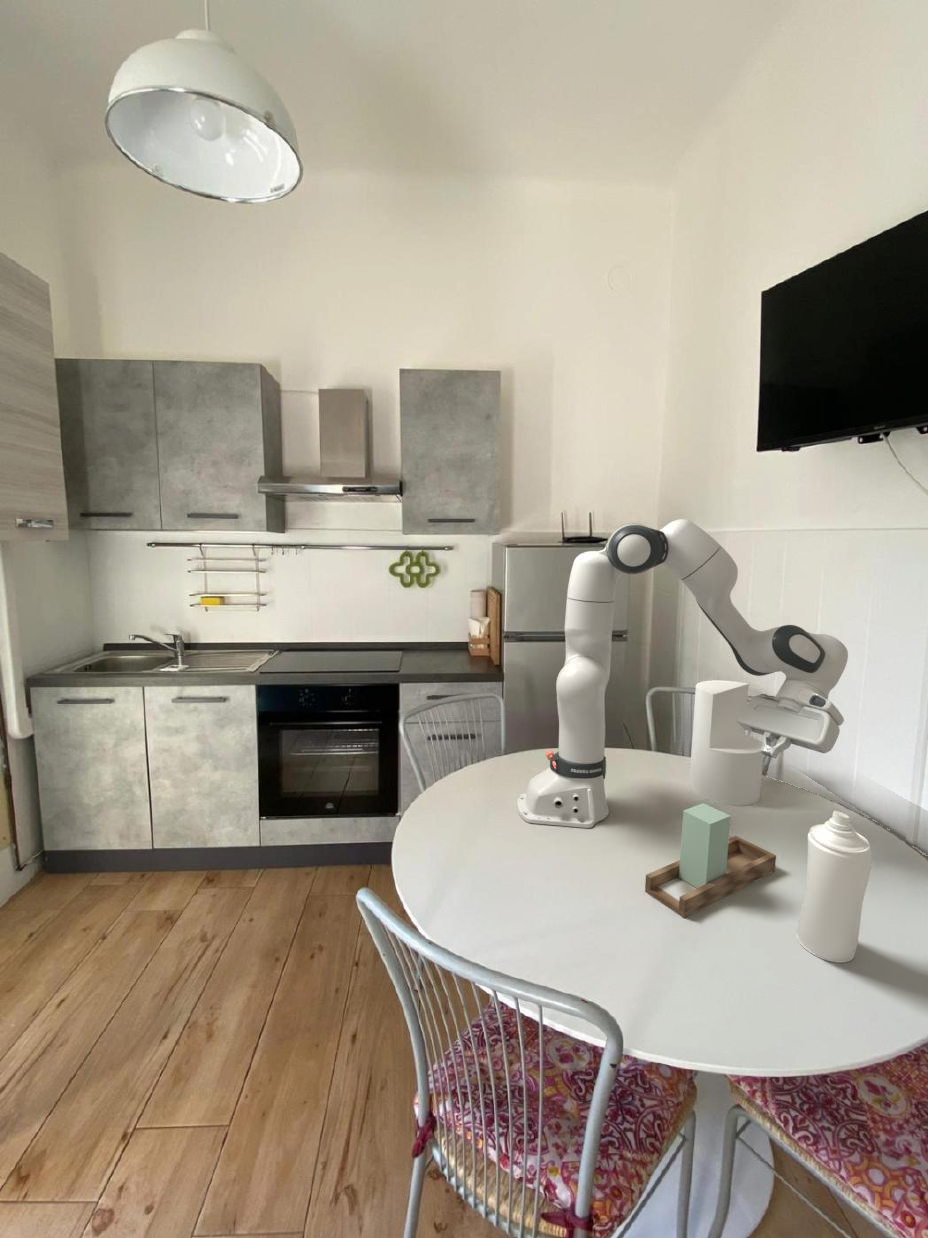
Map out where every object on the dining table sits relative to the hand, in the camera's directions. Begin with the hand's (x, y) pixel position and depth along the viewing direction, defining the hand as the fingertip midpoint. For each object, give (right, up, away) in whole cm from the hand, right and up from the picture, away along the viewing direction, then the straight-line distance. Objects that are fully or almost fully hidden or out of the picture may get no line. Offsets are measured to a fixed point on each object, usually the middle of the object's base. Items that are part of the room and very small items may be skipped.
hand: (767, 755), depth 123 cm
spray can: (-4, -27, -26) cm, 37 cm away
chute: (-15, -23, -7) cm, 29 cm away
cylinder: (+5, -17, +33) cm, 37 cm away
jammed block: (-18, -22, -9) cm, 30 cm away
